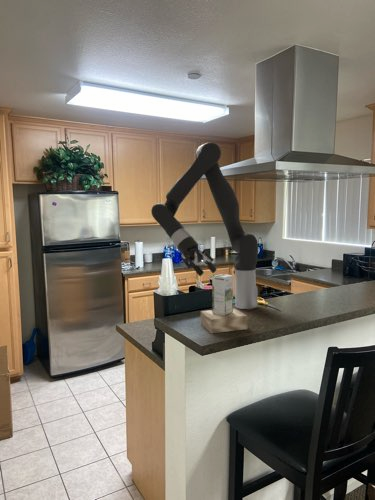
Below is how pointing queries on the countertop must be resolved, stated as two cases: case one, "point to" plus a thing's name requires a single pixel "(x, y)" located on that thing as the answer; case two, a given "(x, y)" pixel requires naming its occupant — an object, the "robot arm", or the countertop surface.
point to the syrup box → (222, 294)
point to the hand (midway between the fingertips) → (208, 273)
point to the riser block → (223, 321)
